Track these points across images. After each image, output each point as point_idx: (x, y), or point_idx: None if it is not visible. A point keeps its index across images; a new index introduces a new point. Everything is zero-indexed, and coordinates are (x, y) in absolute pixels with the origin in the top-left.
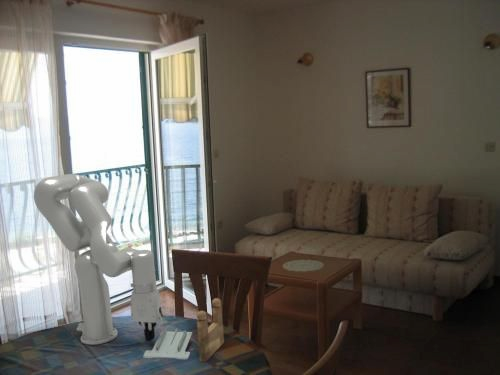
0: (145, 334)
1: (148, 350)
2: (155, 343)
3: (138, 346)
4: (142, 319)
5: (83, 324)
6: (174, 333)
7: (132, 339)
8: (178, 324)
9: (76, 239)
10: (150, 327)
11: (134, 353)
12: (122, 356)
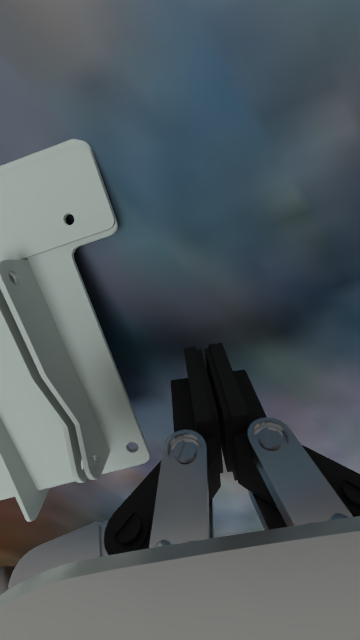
0: (228, 379)
1: (94, 234)
2: (102, 334)
3: (259, 292)
4: (311, 618)
5: None
6: (7, 471)
7: (357, 352)
8: None
9: None
10: (173, 464)
11: (218, 176)
12: (298, 60)
